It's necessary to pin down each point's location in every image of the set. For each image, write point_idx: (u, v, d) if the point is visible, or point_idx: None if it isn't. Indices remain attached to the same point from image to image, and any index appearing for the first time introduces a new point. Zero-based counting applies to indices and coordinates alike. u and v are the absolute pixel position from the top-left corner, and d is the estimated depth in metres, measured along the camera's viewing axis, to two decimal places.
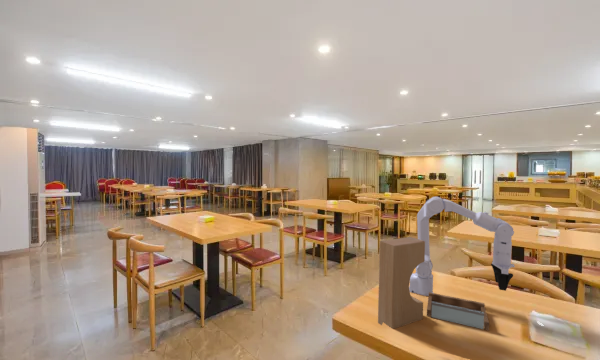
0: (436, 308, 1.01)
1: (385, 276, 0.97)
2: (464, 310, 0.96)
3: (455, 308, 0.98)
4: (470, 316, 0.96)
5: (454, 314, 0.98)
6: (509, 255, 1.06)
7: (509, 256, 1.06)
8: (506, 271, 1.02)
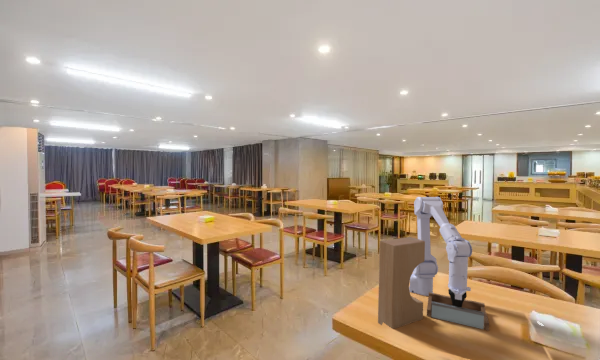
0: (436, 308, 1.01)
1: (385, 276, 0.97)
2: (464, 310, 0.96)
3: (455, 308, 0.98)
4: (470, 316, 0.96)
5: (454, 314, 0.98)
6: (464, 278, 0.96)
7: (464, 279, 0.96)
8: (459, 296, 0.92)
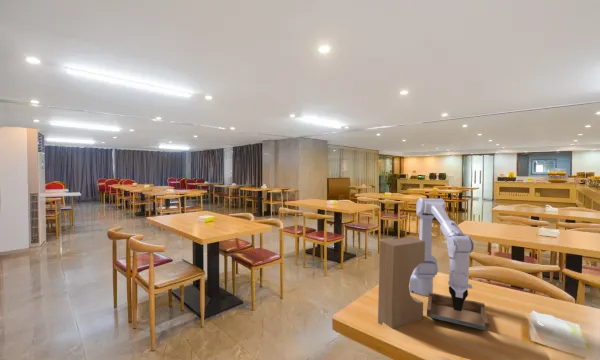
0: None
1: (385, 276, 0.97)
2: (464, 325, 0.93)
3: (455, 322, 0.94)
4: (470, 326, 0.93)
5: None
6: (466, 275, 0.91)
7: (466, 276, 0.91)
8: (460, 294, 0.88)
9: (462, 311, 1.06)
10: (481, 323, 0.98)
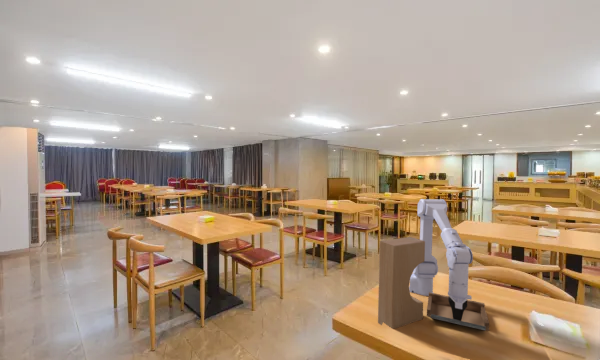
0: None
1: (385, 276, 0.97)
2: (464, 325, 0.93)
3: (455, 323, 0.94)
4: None
5: None
6: (465, 286, 0.92)
7: (465, 287, 0.92)
8: (460, 305, 0.88)
9: None
10: (481, 323, 0.98)
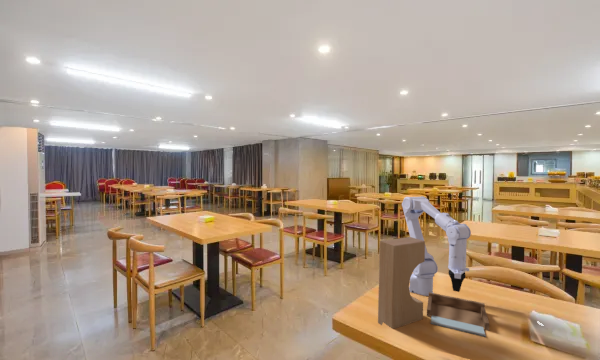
0: None
1: (385, 276, 0.97)
2: None
3: None
4: None
5: None
6: (463, 259, 1.03)
7: (463, 260, 1.03)
8: (459, 275, 0.99)
9: (462, 311, 1.06)
10: (481, 323, 0.98)
